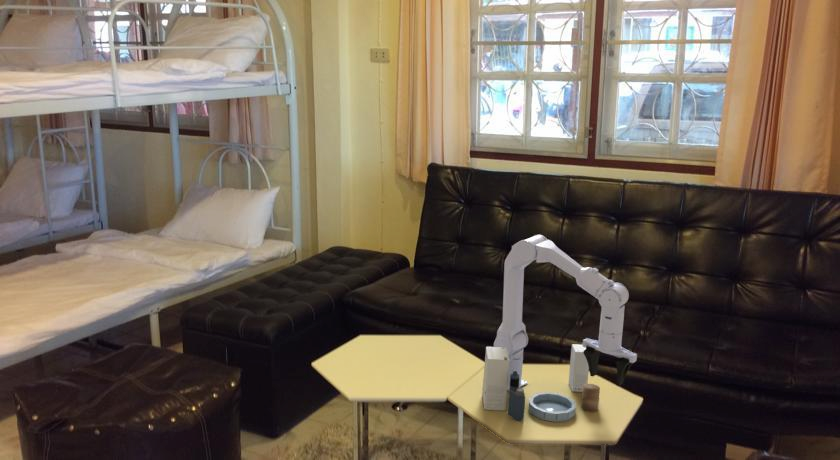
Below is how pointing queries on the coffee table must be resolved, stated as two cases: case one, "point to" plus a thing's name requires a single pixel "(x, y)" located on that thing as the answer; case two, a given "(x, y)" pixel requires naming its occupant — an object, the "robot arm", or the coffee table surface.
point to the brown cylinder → (590, 397)
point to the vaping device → (516, 398)
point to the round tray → (552, 407)
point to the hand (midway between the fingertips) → (606, 379)
